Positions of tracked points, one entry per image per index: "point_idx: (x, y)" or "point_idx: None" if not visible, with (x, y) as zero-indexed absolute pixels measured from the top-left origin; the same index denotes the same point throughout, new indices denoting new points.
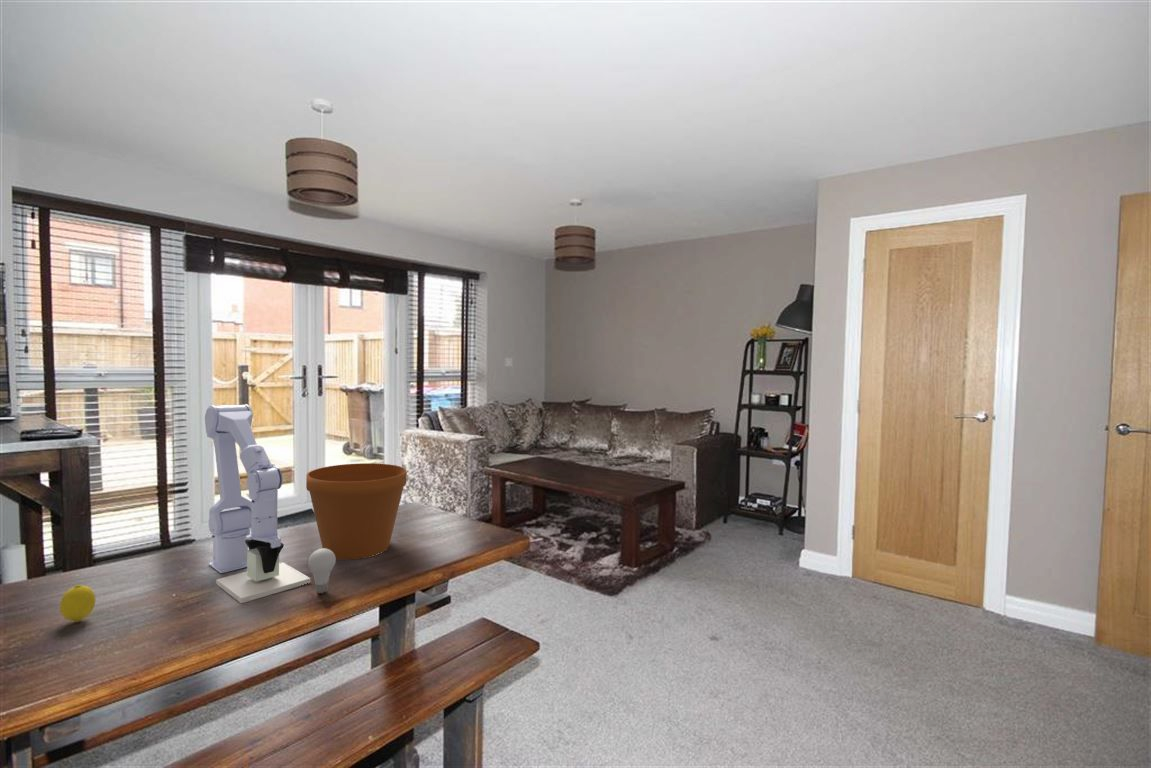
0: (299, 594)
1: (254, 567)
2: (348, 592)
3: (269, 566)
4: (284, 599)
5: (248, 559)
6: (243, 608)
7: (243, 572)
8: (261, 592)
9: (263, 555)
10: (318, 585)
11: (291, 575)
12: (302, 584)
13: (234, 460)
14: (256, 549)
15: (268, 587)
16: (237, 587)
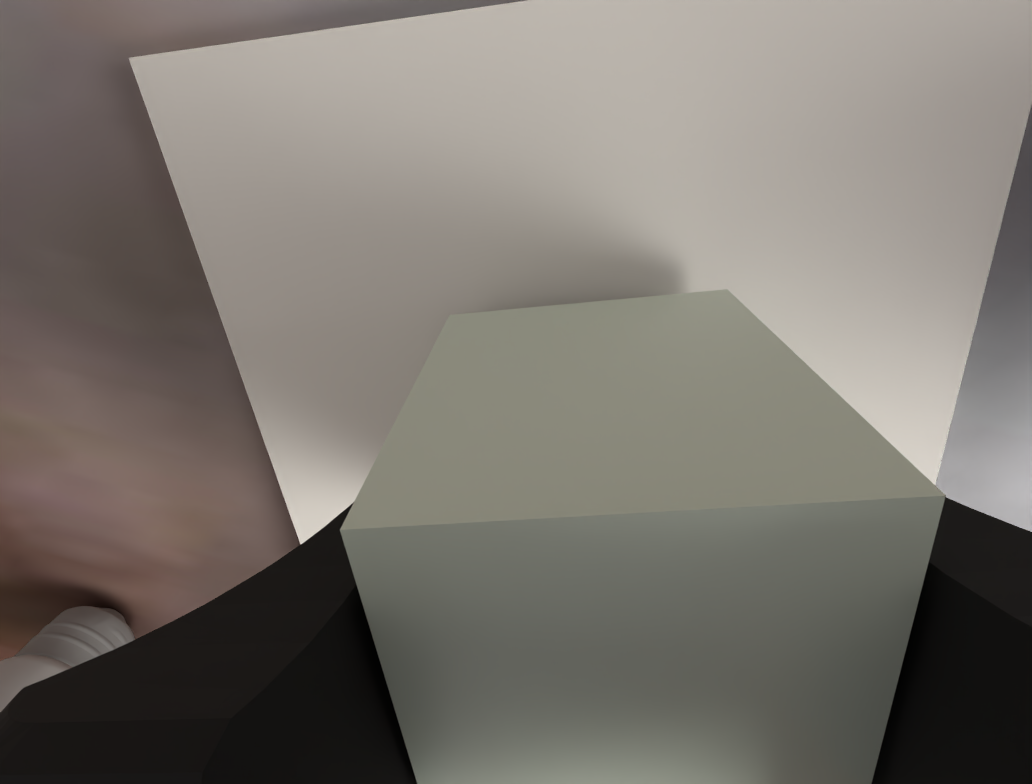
0: (159, 515)
1: (471, 379)
2: None
3: None
4: (100, 409)
5: (762, 391)
6: (14, 49)
7: (978, 302)
8: (214, 290)
9: (177, 627)
10: (15, 656)
11: None
12: None
13: None
14: (785, 641)
15: (315, 378)
16: (517, 110)
